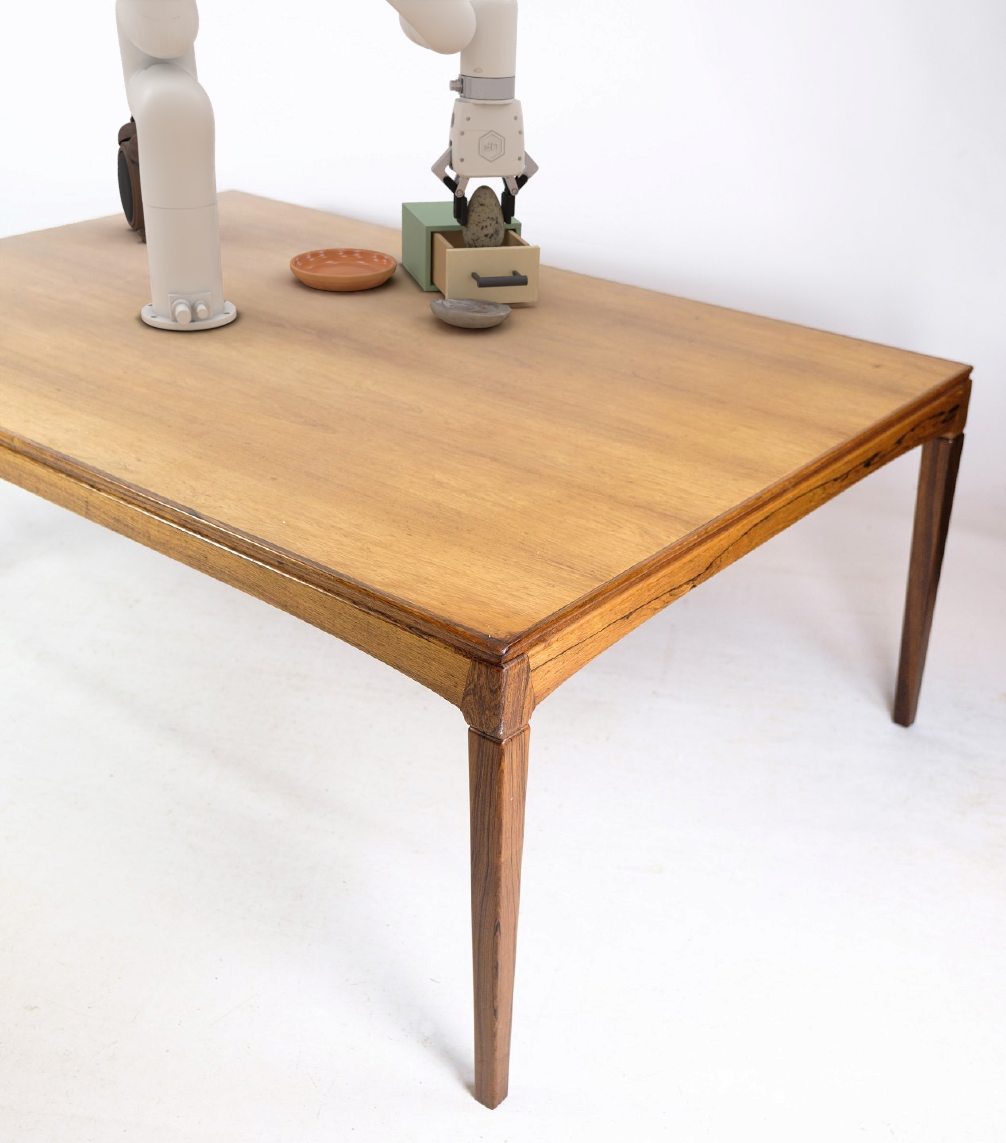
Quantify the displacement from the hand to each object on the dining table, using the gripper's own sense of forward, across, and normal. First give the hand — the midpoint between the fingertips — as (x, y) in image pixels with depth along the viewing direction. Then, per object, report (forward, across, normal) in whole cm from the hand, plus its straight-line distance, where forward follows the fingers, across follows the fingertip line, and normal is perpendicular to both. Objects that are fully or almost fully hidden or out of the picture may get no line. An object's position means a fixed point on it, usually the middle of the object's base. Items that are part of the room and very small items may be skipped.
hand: (483, 221), depth 184 cm
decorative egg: (+5, 0, 0) cm, 5 cm away
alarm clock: (+11, -45, +45) cm, 64 cm away
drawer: (+10, 0, -1) cm, 10 cm away
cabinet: (+11, 0, +13) cm, 17 cm away
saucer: (+11, -18, +13) cm, 25 cm away
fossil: (+11, -5, -11) cm, 17 cm away
